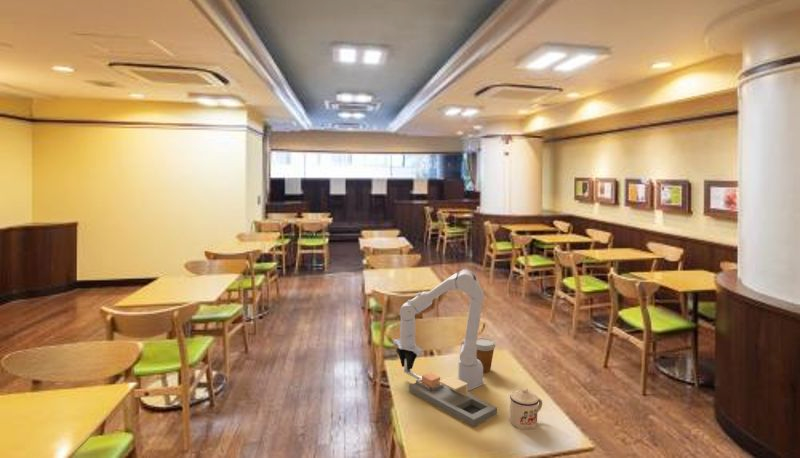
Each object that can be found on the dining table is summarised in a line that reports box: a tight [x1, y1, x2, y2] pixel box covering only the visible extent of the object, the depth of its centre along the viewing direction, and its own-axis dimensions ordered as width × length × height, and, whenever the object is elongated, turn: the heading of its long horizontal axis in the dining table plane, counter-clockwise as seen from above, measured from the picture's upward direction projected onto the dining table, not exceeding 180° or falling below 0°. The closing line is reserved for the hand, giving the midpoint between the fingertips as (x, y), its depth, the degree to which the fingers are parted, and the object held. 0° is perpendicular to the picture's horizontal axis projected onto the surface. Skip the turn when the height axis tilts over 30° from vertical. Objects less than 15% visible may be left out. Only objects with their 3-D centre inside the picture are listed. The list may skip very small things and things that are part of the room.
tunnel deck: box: [408, 375, 498, 428], centre depth 168 cm, size 31×12×7 cm, turn 41°
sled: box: [403, 357, 444, 391], centre depth 180 cm, size 18×6×6 cm, turn 41°
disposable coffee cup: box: [476, 337, 496, 374], centre depth 195 cm, size 10×10×12 cm
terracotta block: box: [421, 372, 441, 387], centre depth 176 cm, size 5×4×4 cm
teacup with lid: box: [509, 387, 543, 430], centre depth 156 cm, size 12×9×12 cm
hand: (407, 367), depth 186 cm, fingers open, 3 cm apart
